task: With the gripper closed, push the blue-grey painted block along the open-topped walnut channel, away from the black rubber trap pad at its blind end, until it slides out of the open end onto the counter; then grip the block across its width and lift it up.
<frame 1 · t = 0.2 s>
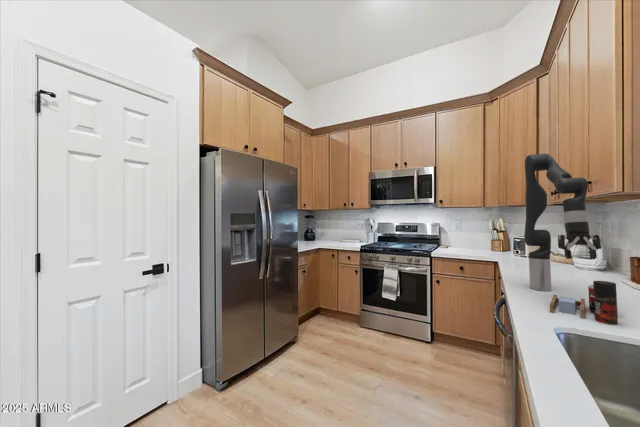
hand: (580, 259, 113), 22 cm above the countertop, tool pointing down, fingers open, 8 cm apart
canned food: (603, 314, 109), on the countertop
channel: (568, 309, 114), on the countertop
deodorant: (606, 322, 101), on the countertop
block: (567, 311, 113), resting in channel
trap pad: (568, 306, 118), resting in channel
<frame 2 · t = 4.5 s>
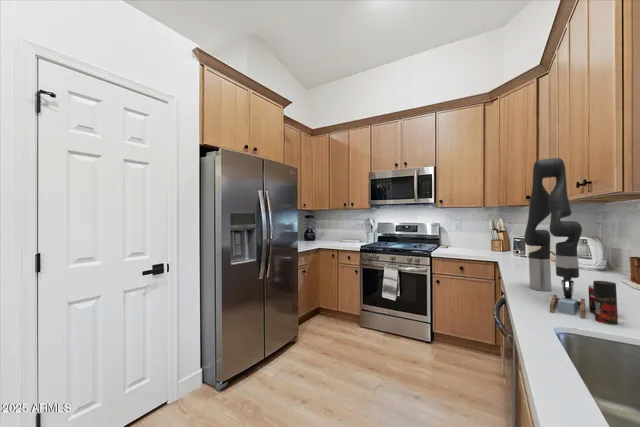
hand: (568, 304, 116), 1 cm above the countertop, tool pointing down, fingers closed
block: (568, 312, 112), resting in channel, touching gripper
everything else where it was.
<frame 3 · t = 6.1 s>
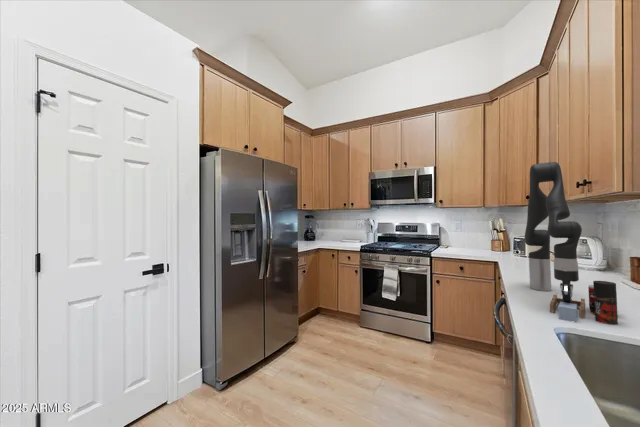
hand: (567, 309, 110), 1 cm above the countertop, tool pointing down, fingers closed
block: (568, 317, 105), on the countertop, touching gripper
everything else where it was.
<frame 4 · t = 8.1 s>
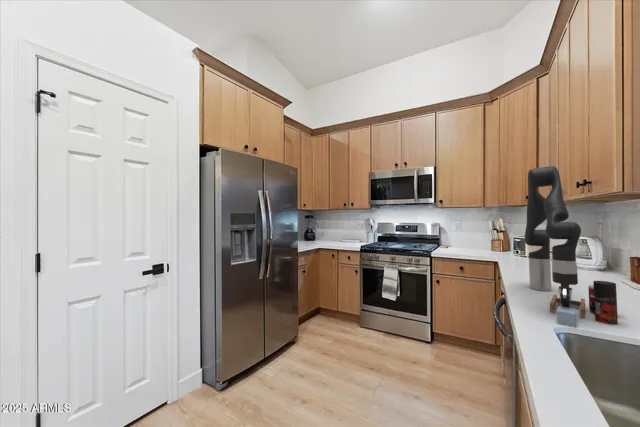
hand: (566, 314, 106), 1 cm above the countertop, tool pointing down, fingers closed
block: (567, 322, 101), on the countertop
everything else where it was.
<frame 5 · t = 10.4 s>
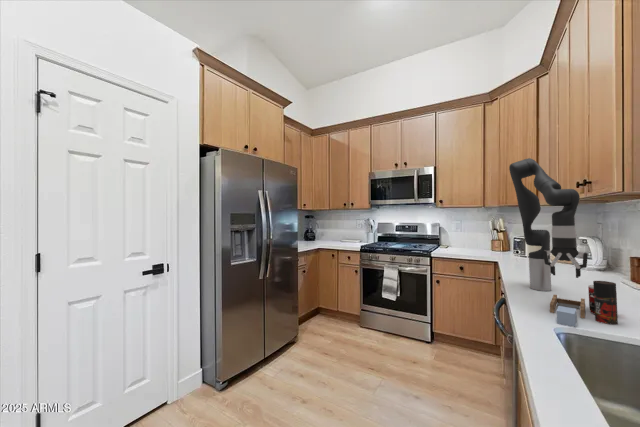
hand: (565, 276, 110), 16 cm above the countertop, tool pointing down, fingers open, 6 cm apart
nothing on the countertop moved.
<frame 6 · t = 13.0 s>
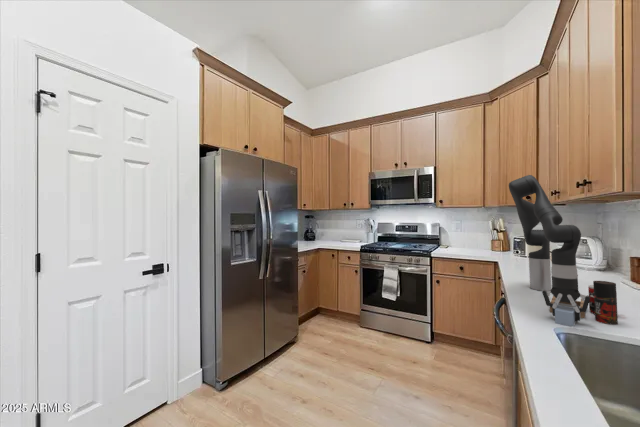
hand: (566, 319, 102), 1 cm above the countertop, tool pointing down, fingers closed on block, 5 cm apart
block: (565, 322, 101), on the countertop, touching gripper
everything else where it was.
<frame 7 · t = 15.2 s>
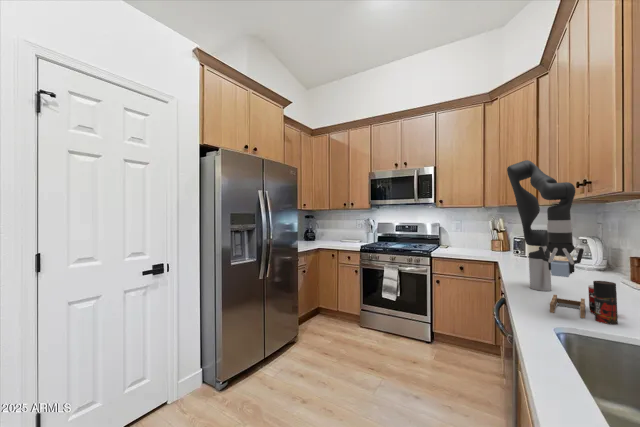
hand: (561, 272, 108), 18 cm above the countertop, tool pointing down, fingers closed on block, 5 cm apart
block: (561, 274, 107), point 17 cm above the countertop, touching gripper
everything else where it was.
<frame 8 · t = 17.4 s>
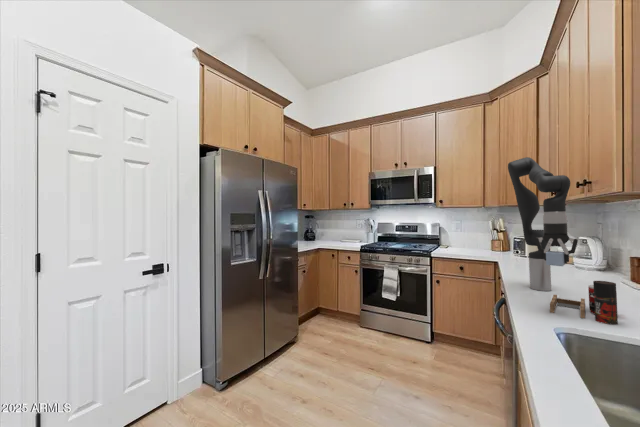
hand: (556, 262, 111), 21 cm above the countertop, tool pointing down, fingers closed on block, 5 cm apart
block: (555, 264, 110), point 21 cm above the countertop, touching gripper
everything else where it was.
at the end: the gripper is holding block; block point 20.7 cm above the countertop; block touching gripper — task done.
